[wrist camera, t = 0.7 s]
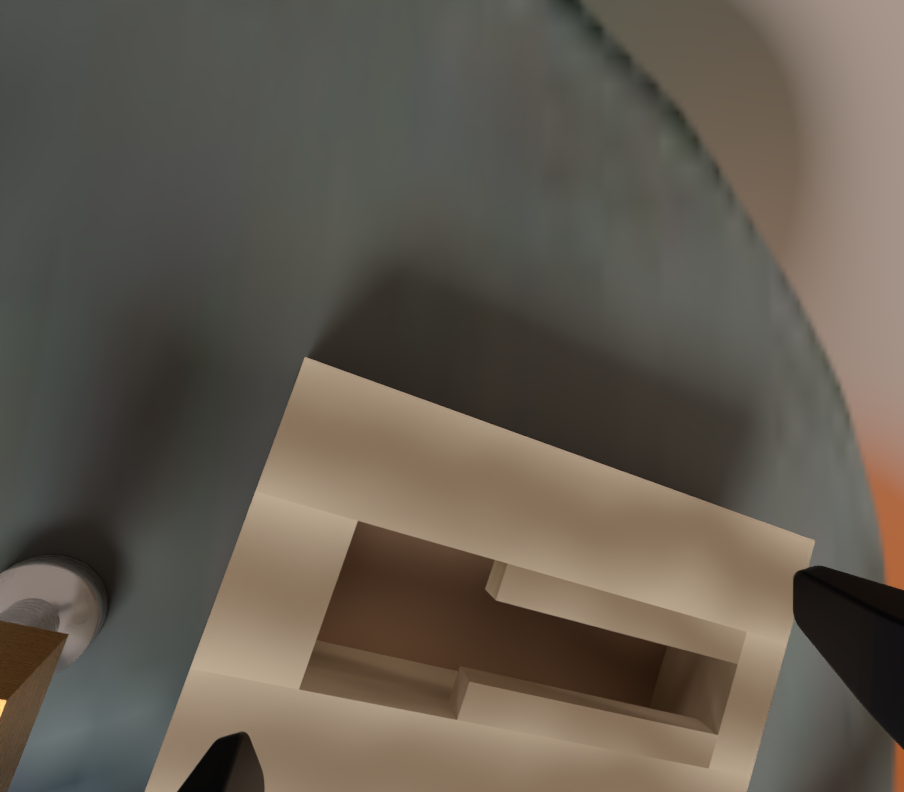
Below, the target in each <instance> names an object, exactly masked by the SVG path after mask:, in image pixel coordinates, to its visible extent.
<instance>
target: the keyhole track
mask: <svg viewBox="0 0 904 792" xmlns="http://www.w3.org/2000/svg"><path fill="white" fill-rule="evenodd" d="M814 544H815V541H814V540H812V539H809V538H806V537H803V536H801V535H798V534H795V533H792V532H790V531H787V530H784V529H781V528H778V527H776V526H773V525H770V524H767V523H765V522H762V521H759V520H756V519H753V518H751V517H748V516H745V515H742V514H740V513H737V512H734V511H731V510H728V509H726V508H723V507H720V506H717V505H715V504H712V503H709V502H706V501H703V500H701V499H698V498H695V497H692V496H690V495H687V494H684V493H681V492H679V491H676V490H673V489H670V488H667V487H665V486H662V485H659V484H656V483H654V482H651V481H648V480H645V479H642V478H640V477H637V476H634V475H631V474H629V473H626V472H623V471H620V470H617V469H615V468H612V467H609V466H606V465H604V464H601V463H598V462H595V461H593V460H590V459H587V458H584V457H581V456H579V455H576V454H573V453H570V452H568V451H565V450H562V449H559V448H556V447H554V446H551V445H548V444H545V443H543V442H540V441H537V440H534V439H531V438H529V437H526V436H523V435H520V434H518V433H515V432H512V431H509V430H506V429H504V428H501V427H498V426H495V425H493V424H490V423H487V422H484V421H482V420H479V419H476V418H473V417H470V416H468V415H465V414H462V413H459V412H457V411H454V410H451V409H448V408H445V407H443V406H440V405H437V404H434V403H432V402H429V401H426V400H423V399H420V398H418V397H415V396H412V395H409V394H407V393H404V392H401V391H398V390H395V389H393V388H390V387H387V386H384V385H382V384H379V383H376V382H373V381H371V380H368V379H365V378H362V377H359V376H357V375H354V374H351V373H348V372H346V371H343V370H340V369H337V368H334V367H332V366H329V365H326V364H323V363H321V362H318V361H315V360H312V359H309V358H307V357H305V358H304V361H303V364H302V367H301V369H300V372H299V375H298V377H297V380H296V383H295V386H294V388H293V391H292V394H291V396H290V399H289V402H288V405H287V407H286V410H285V413H284V415H283V418H282V421H281V424H280V426H279V429H278V432H277V434H276V437H275V440H274V443H273V445H272V448H271V451H270V453H269V456H268V459H267V462H266V464H265V467H264V470H263V472H262V475H261V478H260V481H259V483H258V486H257V489H256V491H255V494H254V497H253V500H252V502H251V505H250V508H249V510H248V513H247V516H246V519H245V521H244V524H243V527H242V529H241V532H240V535H239V537H238V540H237V543H236V546H235V548H234V551H233V554H232V556H231V559H230V562H229V565H228V567H227V570H226V573H225V575H224V578H223V581H222V584H221V586H220V589H219V592H218V594H217V597H216V600H215V603H214V605H213V608H212V611H211V613H210V616H209V619H208V622H207V624H206V627H205V630H204V632H203V635H202V638H201V641H200V643H199V646H198V649H197V651H196V654H195V657H194V660H193V662H192V665H191V668H190V670H189V673H188V676H187V679H186V681H185V684H184V687H183V689H182V692H181V695H180V698H179V700H178V703H177V706H176V708H175V711H174V714H173V717H172V719H171V722H170V725H169V727H168V730H167V733H166V736H165V738H164V741H163V744H162V746H161V749H160V752H159V755H158V757H157V760H156V763H155V765H154V768H153V771H152V774H151V776H150V779H149V782H148V784H147V787H146V790H145V792H177V791H178V790H179V788H180V787H181V786H182V784H183V783H184V782H185V780H186V779H187V778H188V776H189V775H190V773H191V772H192V771H193V769H194V768H195V767H196V765H197V764H198V763H199V761H200V760H201V759H202V757H203V756H204V755H205V753H206V752H207V751H208V749H209V748H210V747H211V745H212V744H213V743H214V742H215V741H216V740H217V739H218V738H220V737H223V736H226V735H230V734H233V733H237V732H240V731H244V732H246V733H247V734H248V735H249V737H250V739H251V741H252V744H253V747H254V749H255V752H256V755H257V757H258V760H259V762H260V765H261V768H262V771H263V775H264V783H265V792H747V789H748V786H749V782H750V778H751V775H752V771H753V767H754V764H755V760H756V756H757V753H758V749H759V745H760V742H761V738H762V734H763V731H764V727H765V723H766V720H767V716H768V712H769V709H770V705H771V701H772V698H773V694H774V690H775V687H776V683H777V679H778V676H779V672H780V668H781V665H782V661H783V657H784V654H785V650H786V646H787V643H788V639H789V635H790V632H791V628H792V624H793V621H794V614H793V576H794V574H795V573H796V572H797V571H799V570H802V569H806V568H808V566H809V562H810V559H811V555H812V551H813V548H814Z"/></svg>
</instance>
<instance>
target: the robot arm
mask: <svg viewBox="0 0 904 792" xmlns="http://www.w3.org/2000/svg"><path fill="white" fill-rule="evenodd" d="M793 614H794V618H795V620H796V622H797V624H798V626H799V627H800V629H801V630H802V631H803V633H804V634H805V635H806V636H807V637H808V639H809V640H810V641H811V642H812V644H813V645H814V646H815V647H816V649H817V650H818V651H819V652H820V653H821V655H822V656H823V657H824V658H825V660H826V661H827V662H828V663H829V665H830V666H831V667H832V668H833V670H834V671H835V672H836V673H837V674H838V676H839V677H840V678H841V679H842V681H843V682H844V683H845V684H846V686H847V687H848V688H849V689H850V691H851V692H852V693H853V694H854V695H855V697H856V698H857V699H858V700H859V701H860V703H861V704H862V705H863V706H864V707H865V709H866V710H867V711H868V712H869V713H870V714H871V715H872V716H873V718H874V719H875V720H876V721H877V722H878V723H879V724H880V725H881V726H882V727H883V728H884V730H885V731H886V732H887V733H888V734H889V735H890V736H891V737H892V738H893V739H894V740H895V741H896V742H897V743H898V744H899V745H900V746H901V747H902V748H903V749H904V590H901V589H898V588H894V587H891V586H888V585H884V584H881V583H878V582H874V581H871V580H868V579H864V578H861V577H858V576H854V575H851V574H848V573H844V572H841V571H837V570H834V569H831V568H827V567H824V566H813V567H809V568H806V569H802V570H799V571H797V572H796V573H795V574H794V576H793ZM177 792H265V783H264V775H263V771H262V768H261V765H260V762H259V760H258V757H257V755H256V752H255V749H254V747H253V744H252V741H251V739H250V737H249V735H248V734H247V733H246V732H244V731H240V732H237V733H233V734H230V735H226V736H223V737H220V738H218V739H217V740H216V741H215V742H214V743H213V744H212V745H211V747H210V748H209V749H208V751H207V752H206V753H205V755H204V756H203V757H202V759H201V760H200V761H199V763H198V764H197V765H196V767H195V768H194V769H193V771H192V772H191V773H190V775H189V776H188V778H187V779H186V780H185V782H184V783H183V784H182V786H181V787H180V788H179V790H178V791H177Z"/></svg>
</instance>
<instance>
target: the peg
mask: <svg viewBox="0 0 904 792" xmlns="http://www.w3.org/2000/svg"><path fill="white" fill-rule="evenodd" d="M107 612H108V595H107V591H106V587H105V585H104V583H103V581H102V580H101V578H100V577H99V575H98V574H97V573H96V572H95V571H94V570H93V569H92V568H91V567H89V566H88V565H86V564H85V563H83V562H81V561H79V560H77V559H74V558H71V557H68V556H62V555H42V556H36V557H32V558H29V559H26V560H23V561H21V562H19V563H17V564H15V565H13V566H11V567H10V568H8V569H6V570H5V571H3V572H1V573H0V792H7V791H8V789H9V786H10V784H11V781H12V779H13V776H14V774H15V771H16V768H17V766H18V763H19V761H20V758H21V756H22V753H23V750H24V748H25V745H26V743H27V740H28V738H29V735H30V733H31V730H32V727H33V725H34V722H35V720H36V717H37V715H38V712H39V709H40V707H41V704H42V702H43V699H44V697H45V694H46V692H47V689H48V686H49V684H50V681H51V679H52V676H53V675H54V674H56V673H58V672H60V671H62V670H63V669H65V668H67V667H68V666H69V665H71V664H72V663H73V662H74V661H75V660H76V659H77V658H78V657H79V656H80V655H81V654H82V653H83V652H84V650H85V649H86V648H87V647H88V645H89V644H90V643H91V642H92V641H93V639H94V638H95V637H96V636H97V634H98V633H99V631H100V630H101V628H102V626H103V624H104V622H105V619H106V616H107Z"/></svg>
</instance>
